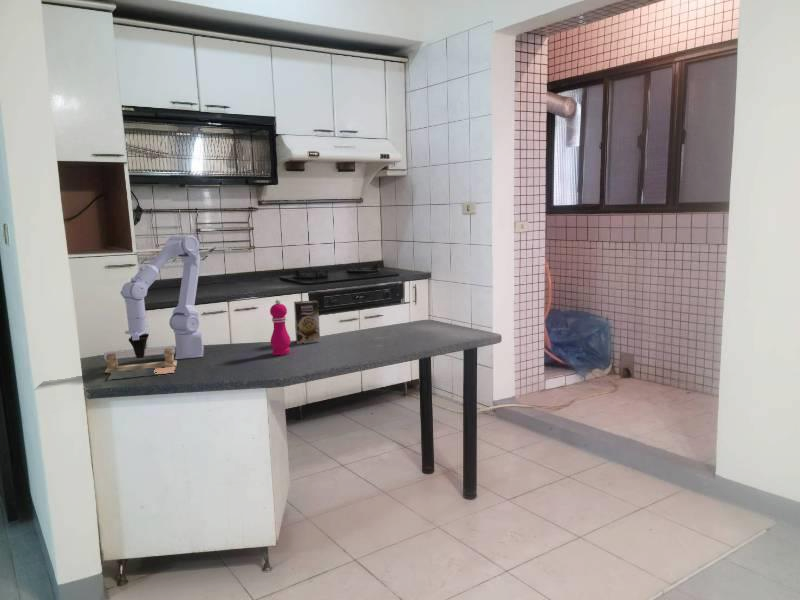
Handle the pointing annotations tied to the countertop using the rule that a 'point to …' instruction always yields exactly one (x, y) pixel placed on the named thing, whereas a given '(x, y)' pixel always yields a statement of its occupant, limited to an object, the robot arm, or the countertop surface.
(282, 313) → the pepper mill
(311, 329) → the coffee box
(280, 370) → the countertop surface
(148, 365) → the wooden post frame
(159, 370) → the terracotta mat
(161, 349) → the steel rail
